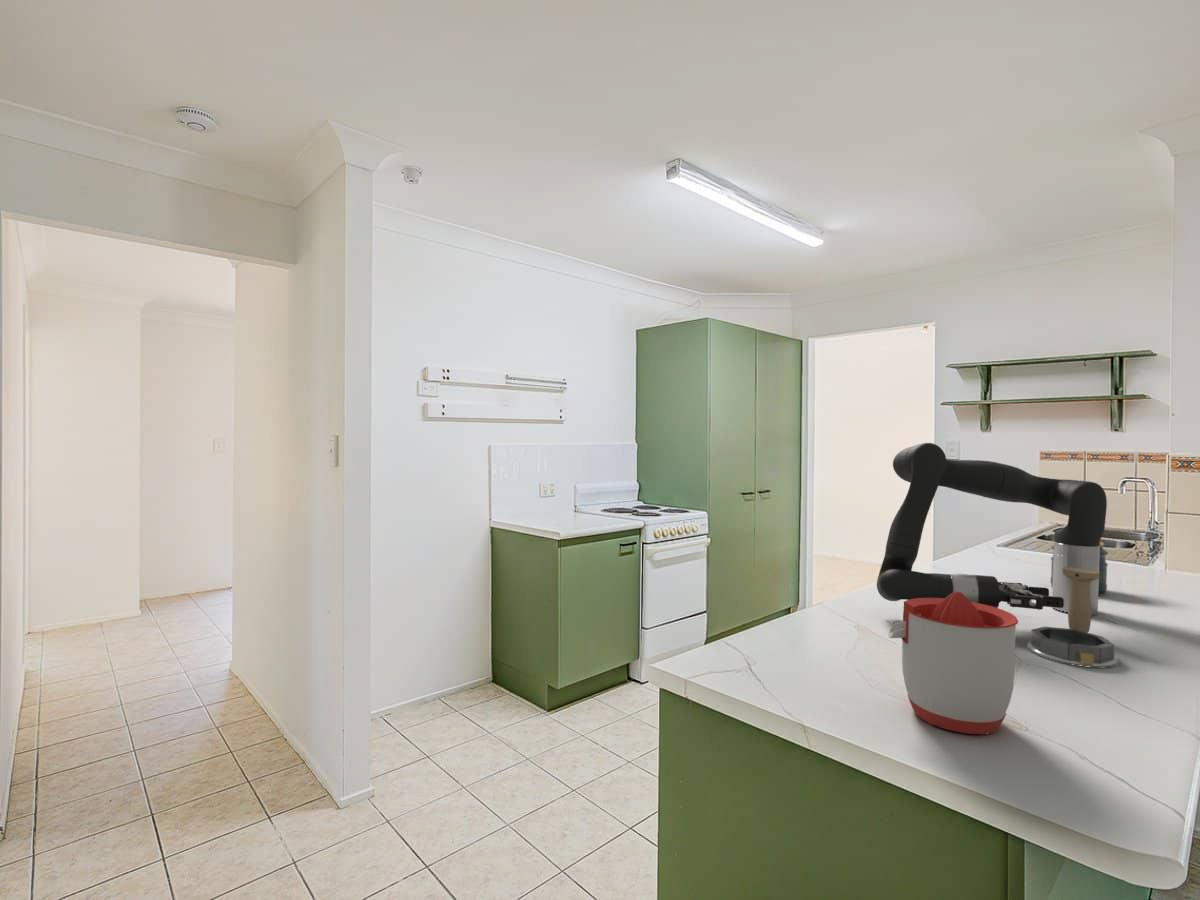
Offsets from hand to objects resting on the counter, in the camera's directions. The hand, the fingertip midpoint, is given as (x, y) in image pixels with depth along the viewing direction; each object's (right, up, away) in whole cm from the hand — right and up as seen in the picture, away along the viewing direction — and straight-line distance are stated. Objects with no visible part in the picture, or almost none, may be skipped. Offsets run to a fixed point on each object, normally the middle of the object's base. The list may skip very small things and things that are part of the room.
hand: (1055, 597), depth 135 cm
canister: (+37, -8, +41) cm, 56 cm away
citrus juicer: (-47, -9, -40) cm, 62 cm away
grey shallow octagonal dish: (-6, -9, -12) cm, 16 cm away
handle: (+4, -9, -1) cm, 10 cm away
